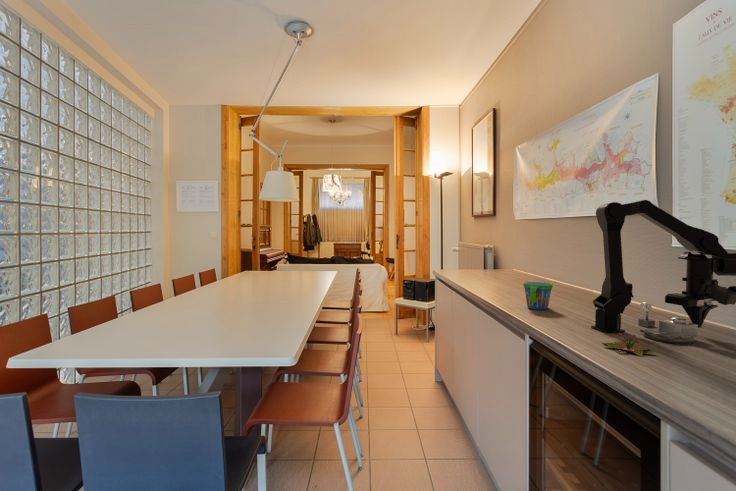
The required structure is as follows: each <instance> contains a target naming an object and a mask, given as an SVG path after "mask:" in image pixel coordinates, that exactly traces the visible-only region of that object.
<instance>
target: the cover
mask: <svg viewBox="0 0 736 491" xmlns="http://www.w3.org/2000/svg"><path fill="white" fill-rule="evenodd" d="M658 322H659V324H658V325H659V326H658V328H659V329H660V330H664V331H667V332H671V333H675V334H679V335H689V334H695V335H697V334H699V333H698V332H699V331H698V330H699V328H698V325H697V324H693V323H692V322H688V321H687V320H686V318H684V317H683V318H682V317H676V316H673V317H671V318H670V319H665V320H663V319H661V320H659V321H658Z"/></svg>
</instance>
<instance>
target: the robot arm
mask: <svg viewBox="0 0 736 491" xmlns="http://www.w3.org/2000/svg"><path fill="white" fill-rule="evenodd" d="M635 215H639V216H641V217H642V218H644V219H646V220H647V221H649V222H650V223H651V224H654V225H655V226H657V227H659V228H660V229H662V230H664V231H665V232H666V233H669V234H670V235H672V236H673V237H674V238H675V240H676V241H677V242H678V244H680V245H681V247H683V248H685V249H686V250H687V251H684V252H683V253H682V254H680V255H679V256H677V259H678V260H684V261H685V260H686V272H685V274H686V275H685V276H686V277H682V279H681V281H682V282H685V290H681V293H678V292H677V293H676V292H675V293H667V294H666V295H664V303H666V304H669V305H670V304H671V305H676V306H681V307H682V308H683V310H684V311H685V313H686V314H687V316H688V318H689V320H690V321H691V323H693V324H697V325H698V329H700V328H702V326H703V324H704V322H705V320H706V318H707V316H708V314H709V312H710V311H711V310H713V309H715V308H718V307H719V305H717V304H714V301H715V302H717V303H718V304H720V305H724V306H729V305H734V306H735V305H736V285H730V286H728V287H726V286H722V285H720V284H719V280H718V279H716V278H714V274H715V275H717V276H725V277H736V252H728V251H727V250H726V249H725V248H724V246H722V244H721V242H719V241H720V240H719V237H718V236H717V235H716V234H714V233H712V232H710V231H707V230H705V229H702V228H698V227H696V226H691V225H689V224H687V223H685V222H684V221H682V220H681V219H679V218H677V217H675V216H674V215H672V214H670V213H669V212H667V211H666V210H664V209H662V208H660V207H659V206H657V205H655V204H654V203H652V202H651V201H650V200H648V199H641V200H636V201H635V202H629V203H623V204H622V203H621V202H616V201H613V202H608V203H603V204H601V205H600V206H598V207H597V208H596V210H595V216H596V221H597V224H598V226H599V228H600V229H601V232H602V238H603V239H602V241H603V242H602V243H603V254H604V269H605V272H604V273H605V277H604V280H603V283H602V285H601V293H600V294H599V295H598V296H597V297H596V298H594V299H593V300H592V304H593V306H594V308H596V309H595V314H594V315H595V324H594V325H591V326H590V328H592V329H595V330H598V331H601V332H604V333H608V334H610V333H622V332H623V333H625V332H626V330H625V329H623V328H622V315H621V314H623V313H624V312H625V309H626V307H628V306H629V305H630V304H631V302H632V298H633V299H634V298H635V296H634V294H633V287H634V286H633V283H631V282H627V281H626V280H625V278H624V264H623V262H624V261H623V248H622V233H621V232H622V229H623V227H624V224H625V222H626V216H635ZM693 252H695V253H693ZM697 253H698V254H697ZM708 256H711V257H708Z"/></svg>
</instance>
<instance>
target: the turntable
mask: <svg viewBox="0 0 736 491" xmlns="http://www.w3.org/2000/svg"><path fill="white" fill-rule="evenodd" d="M639 332H641V333H642V336H643V337H644V338H647V339H649V340H652V341H657V342H660V343H661V342H662V343H666V344H674V345H691V344H694V339H695V338H697V334H689V335H679V334H675V333H671V332H667V331H664V330H660V329H659V327H653V328H642V329H641V328H640V329H639Z"/></svg>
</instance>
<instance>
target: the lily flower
mask: <svg viewBox="0 0 736 491" xmlns="http://www.w3.org/2000/svg"><path fill="white" fill-rule="evenodd" d="M631 334H632V333H630V334H629V336H630V337H629V340H628V337H627V335H625V336H624V335H623V334H622V332H618V336H619V335H620V336H622V337H619V339H620V341H614V342H603V344H604V345H606V346H605V347H604V349H614V350H615V351H616V353H620V352H621V353H620V354H619V355H621V354H627V353H626V352H624V353H623V352H622V350H624V349H626V351H627V352H630V353H629V354H633V353H634V354H636V355H638V356H639V357H641V358H643V354H645V355H653V356H657V353H654V352H652V349H651V348H649V347H645V346H643V345H640V344H638V343H639V342H640V340H639V339H638V338H636V337H637V335H636V334H633V335H631ZM623 338H624V339H623ZM634 338H636V340H633V339H634ZM619 349H620V350H621V351H619ZM633 349H634V351H633Z"/></svg>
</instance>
